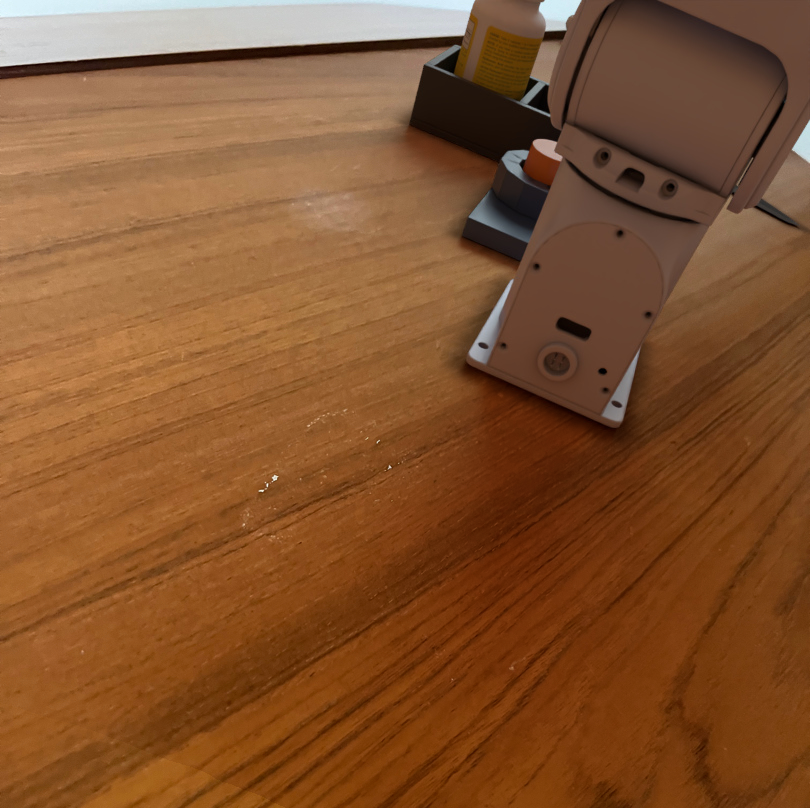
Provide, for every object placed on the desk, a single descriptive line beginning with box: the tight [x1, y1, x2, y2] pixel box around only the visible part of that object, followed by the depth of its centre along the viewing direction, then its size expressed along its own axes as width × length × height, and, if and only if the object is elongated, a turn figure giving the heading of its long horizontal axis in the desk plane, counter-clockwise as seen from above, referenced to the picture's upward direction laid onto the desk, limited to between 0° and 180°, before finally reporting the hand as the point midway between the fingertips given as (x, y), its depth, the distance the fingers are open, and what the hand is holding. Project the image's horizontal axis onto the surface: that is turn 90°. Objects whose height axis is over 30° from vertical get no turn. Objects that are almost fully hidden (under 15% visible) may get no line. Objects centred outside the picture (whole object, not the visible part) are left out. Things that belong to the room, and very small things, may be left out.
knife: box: [732, 184, 801, 227], centre depth 64 cm, size 16×1×3 cm
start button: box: [523, 139, 563, 186], centre depth 47 cm, size 3×3×2 cm
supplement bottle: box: [454, 0, 547, 101], centre depth 54 cm, size 5×5×10 cm
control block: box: [461, 150, 551, 262], centre depth 47 cm, size 10×8×3 cm
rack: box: [408, 44, 561, 163], centre depth 56 cm, size 8×15×4 cm, turn 70°
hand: (726, 90), depth 46 cm, fingers closed
